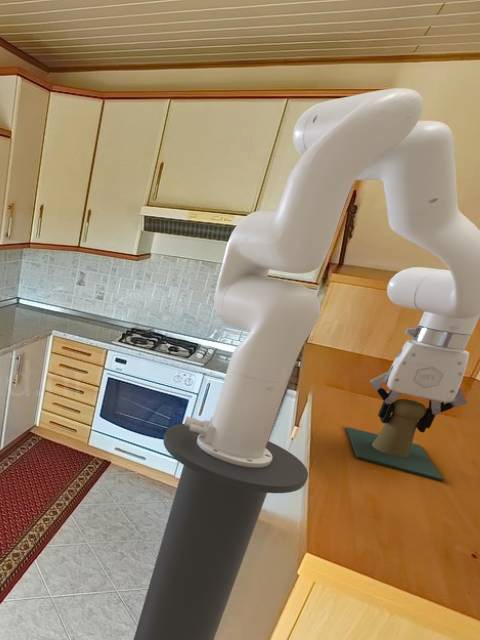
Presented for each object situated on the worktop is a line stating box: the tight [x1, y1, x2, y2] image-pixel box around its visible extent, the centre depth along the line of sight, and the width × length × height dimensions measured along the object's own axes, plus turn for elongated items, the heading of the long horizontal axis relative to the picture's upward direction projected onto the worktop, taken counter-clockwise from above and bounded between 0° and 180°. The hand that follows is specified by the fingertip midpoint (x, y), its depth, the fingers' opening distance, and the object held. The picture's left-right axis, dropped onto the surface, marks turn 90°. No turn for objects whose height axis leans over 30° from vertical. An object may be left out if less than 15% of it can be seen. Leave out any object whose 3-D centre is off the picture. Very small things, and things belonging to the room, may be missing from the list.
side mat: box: [345, 426, 444, 482], centre depth 101 cm, size 13×18×1 cm
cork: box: [372, 398, 427, 457], centre depth 99 cm, size 6×6×11 cm
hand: (401, 424), depth 98 cm, fingers closed on cork, 5 cm apart
